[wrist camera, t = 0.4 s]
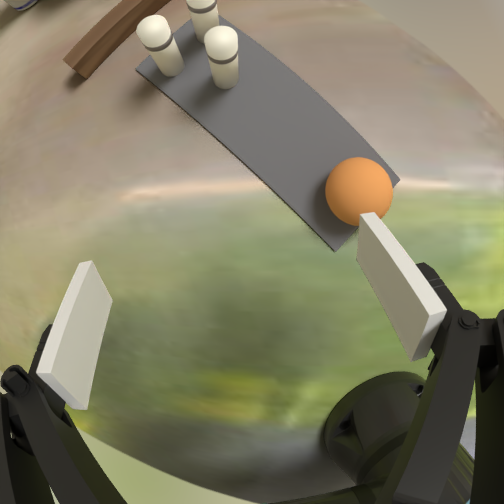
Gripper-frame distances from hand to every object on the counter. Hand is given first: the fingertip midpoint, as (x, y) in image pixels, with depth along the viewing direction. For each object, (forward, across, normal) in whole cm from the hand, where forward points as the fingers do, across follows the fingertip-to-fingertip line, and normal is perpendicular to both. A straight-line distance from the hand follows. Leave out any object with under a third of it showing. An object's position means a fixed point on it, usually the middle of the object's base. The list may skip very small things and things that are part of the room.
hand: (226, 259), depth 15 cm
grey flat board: (+18, -5, -2) cm, 19 cm away
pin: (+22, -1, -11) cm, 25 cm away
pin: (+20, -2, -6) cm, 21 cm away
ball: (+11, -11, +4) cm, 16 cm away
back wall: (+25, +6, -16) cm, 30 cm away
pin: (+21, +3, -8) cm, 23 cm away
